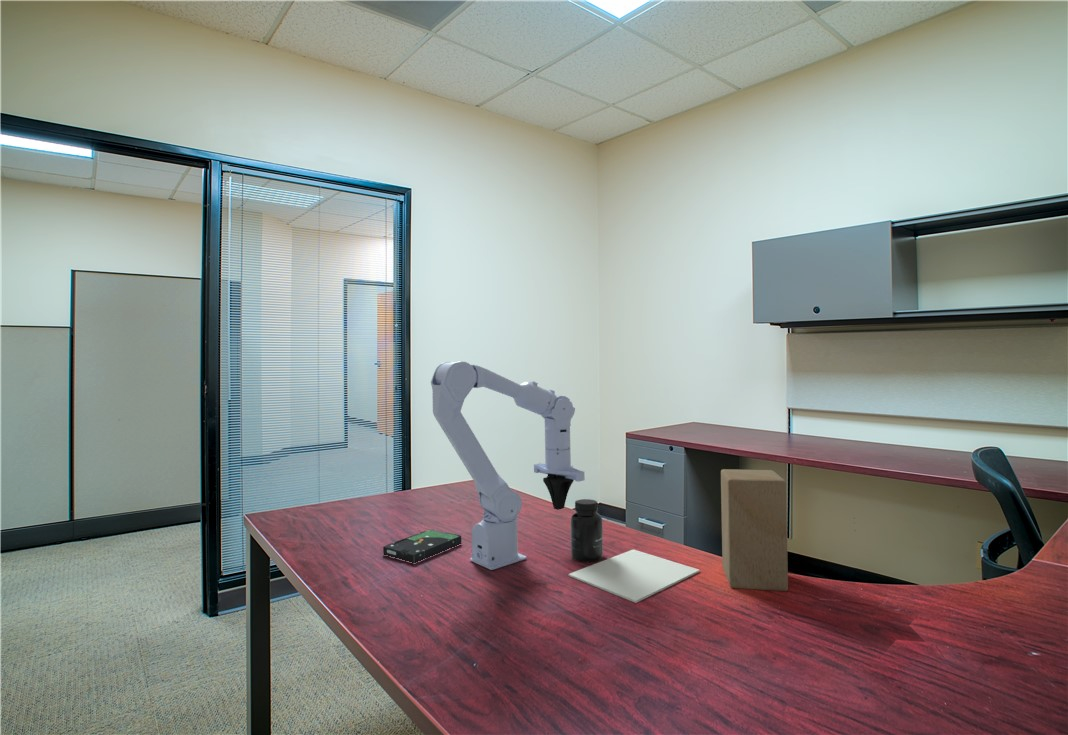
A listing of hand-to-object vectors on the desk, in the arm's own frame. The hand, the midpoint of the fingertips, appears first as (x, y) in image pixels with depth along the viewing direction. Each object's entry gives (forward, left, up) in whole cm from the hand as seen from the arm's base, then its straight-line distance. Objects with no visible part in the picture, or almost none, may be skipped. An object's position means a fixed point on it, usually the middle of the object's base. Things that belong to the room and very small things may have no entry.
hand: (559, 508), depth 122 cm
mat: (0, -21, -9) cm, 23 cm away
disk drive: (-23, +21, -10) cm, 32 cm away
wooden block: (+14, -38, -9) cm, 42 cm away
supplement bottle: (0, -8, -9) cm, 12 cm away
